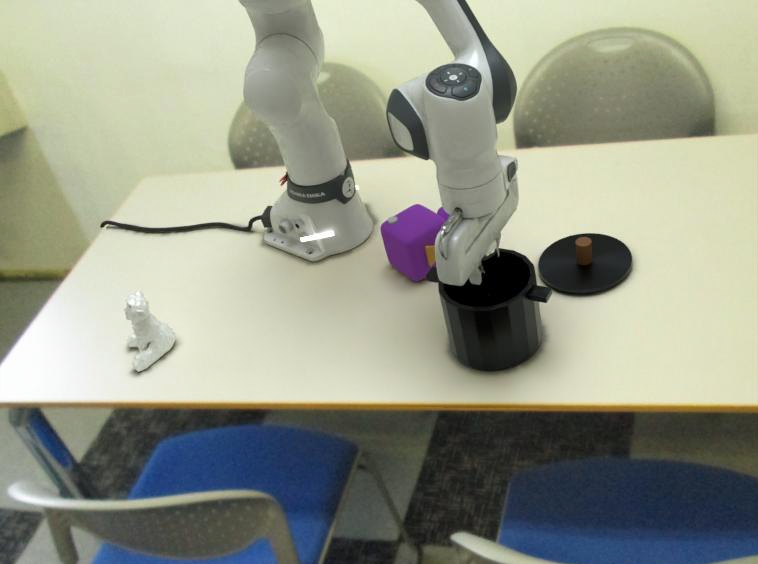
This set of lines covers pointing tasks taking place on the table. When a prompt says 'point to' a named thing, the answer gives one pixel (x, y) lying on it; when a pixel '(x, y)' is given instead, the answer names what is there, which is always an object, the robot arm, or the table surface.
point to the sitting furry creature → (146, 332)
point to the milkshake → (489, 271)
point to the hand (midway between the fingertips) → (485, 270)
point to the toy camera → (413, 239)
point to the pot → (495, 315)
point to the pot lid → (585, 263)
